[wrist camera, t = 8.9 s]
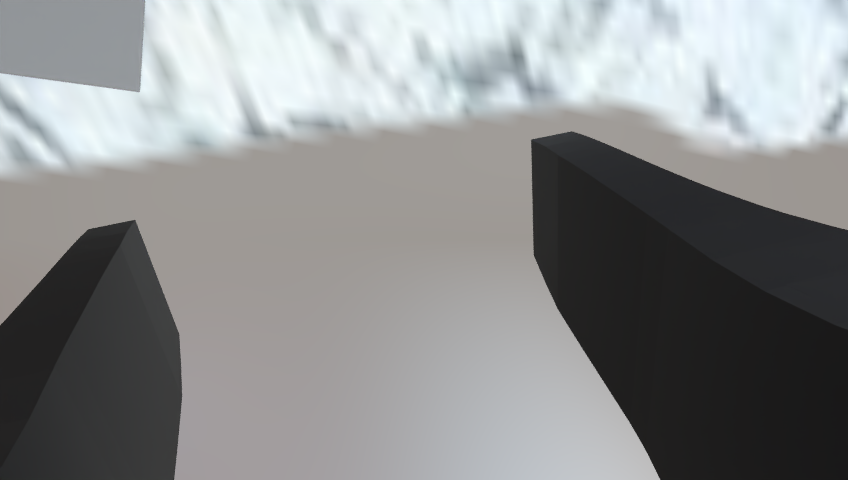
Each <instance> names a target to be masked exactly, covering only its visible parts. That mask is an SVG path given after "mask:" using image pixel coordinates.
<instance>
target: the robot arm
mask: <svg viewBox="0 0 848 480" xmlns="http://www.w3.org/2000/svg"><path fill="white" fill-rule="evenodd" d="M531 148H532V193H533V238H534V239H533V241H534V257H535V259H536V261H537V264H538V266H539V268H540V271H541V273H542V275H543V277H544V280H545V282H546V285H547V287H548V289H549V291H550V293H551V295H552V297H553V299H554V302H555V304H556V306H557V308H558V310H559V312H560V313H561V315H562V316H563V318H564V320H565V321H566V323H567V324H568V326H569V328H570V329H571V331H572V332H573V334H574V336H575V337H576V339H577V341H578V342H579V343H580V345H581V347H582V348H583V350H584V351H585V353H586V355H587V356H588V358H589V359H590V361H591V363H592V364H593V366H594V367H595V369H596V370H597V372H598V373H599V375H600V377H601V378H602V380H603V381H604V383H605V384H606V386H607V387H608V389H609V391H610V392H611V394H612V395H613V397H614V399H615V400H616V402H617V403H618V405H619V406H620V408H621V409H622V411H623V412H624V414H625V416H626V417H627V419H628V420H629V422H630V424H631V425H632V427H633V429H634V431H635V432H636V434H637V436H638V437H639V439H640V441H641V442H642V444H643V446H644V448H645V450H646V452H647V453H648V455H649V457H650V460H651V462H652V464H653V466H654V468H655V470H656V472H657V474H658V476H659V478H660V480H848V230H845V229H841V228H837V227H833V226H829V225H825V224H822V223H818V222H814V221H811V220H807V219H804V218H800V217H796V216H793V215H789V214H786V213H782V212H779V211H776V210H773V209H770V208H766V207H763V206H760V205H757V204H754V203H751V202H749V201H746V200H743V199H740V198H737V197H735V196H732V195H729V194H726V193H723V192H721V191H717V190H715V189H712V188H710V187H707V186H704V185H702V184H700V183H697V182H694V181H692V180H689V179H687V178H684V177H682V176H680V175H677V174H674V173H672V172H670V171H668V170H665V169H663V168H660V167H658V166H656V165H653V164H651V163H649V162H646V161H644V160H642V159H639V158H637V157H635V156H633V155H630V154H628V153H626V152H623V151H621V150H619V149H616V148H614V147H612V146H609V145H607V144H605V143H602V142H600V141H597V140H595V139H592V138H590V137H587V136H584V135H581V134H578V133H575V132H567V133H562V134H557V135H552V136H547V137H542V138H537V139H532V140H531ZM181 402H182V382H181V358H180V341H179V332H178V330H177V327H176V325H175V322H174V320H173V317H172V314H171V312H170V309H169V307H168V304H167V302H166V299H165V296H164V294H163V291H162V288H161V286H160V284H159V281H158V278H157V276H156V273H155V270H154V268H153V265H152V263H151V260H150V257H149V255H148V252H147V250H146V247H145V244H144V242H143V239H142V237H141V234H140V231H139V229H138V226H137V224H136V221H135V220H133V221H127V222H122V223H118V224H113V225H108V226H103V227H98V228H93V229H89V230H87V231H86V232H85V233H84V234H83V235H82V236H81V237H80V238H79V239H78V240H77V241H76V242H75V243H74V244H73V245H72V246H71V248H70V249H69V250H68V251H67V252H66V253H65V254H64V255H63V256H62V258H61V259H60V260H59V261H58V262H57V263H56V264H55V265H54V267H53V268H52V269H51V270H50V271H49V272H48V273H47V275H46V276H45V277H44V278H43V279H42V280H41V281H40V283H39V284H38V285H37V286H36V287H35V288H34V289H33V290H32V291H31V292H30V293H29V295H28V296H27V297H26V298H25V299H24V300H23V301H22V302H21V304H20V305H19V306H18V307H17V308H16V309H15V310H14V311H13V312H12V313H11V314H10V316H9V317H8V318H7V319H6V320H5V321H4V322H3V323H2V324H1V325H0V480H174V475H175V465H176V455H177V446H178V445H177V444H178V435H179V424H180V414H181Z"/></svg>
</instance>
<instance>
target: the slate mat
mask: <svg viewBox="0 0 848 480" xmlns="http://www.w3.org/2000/svg"><path fill="white" fill-rule="evenodd" d="M144 12H145V0H0V73H4V74H11V75H18V76H25V77H33V78H40V79H47V80H55V81H62V82H69V83H76V84H84V85H91V86H98V87H106V88H113V89H120V90H128V91H135V92H140V81H141V64H142V46H143V29H144Z"/></svg>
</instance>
